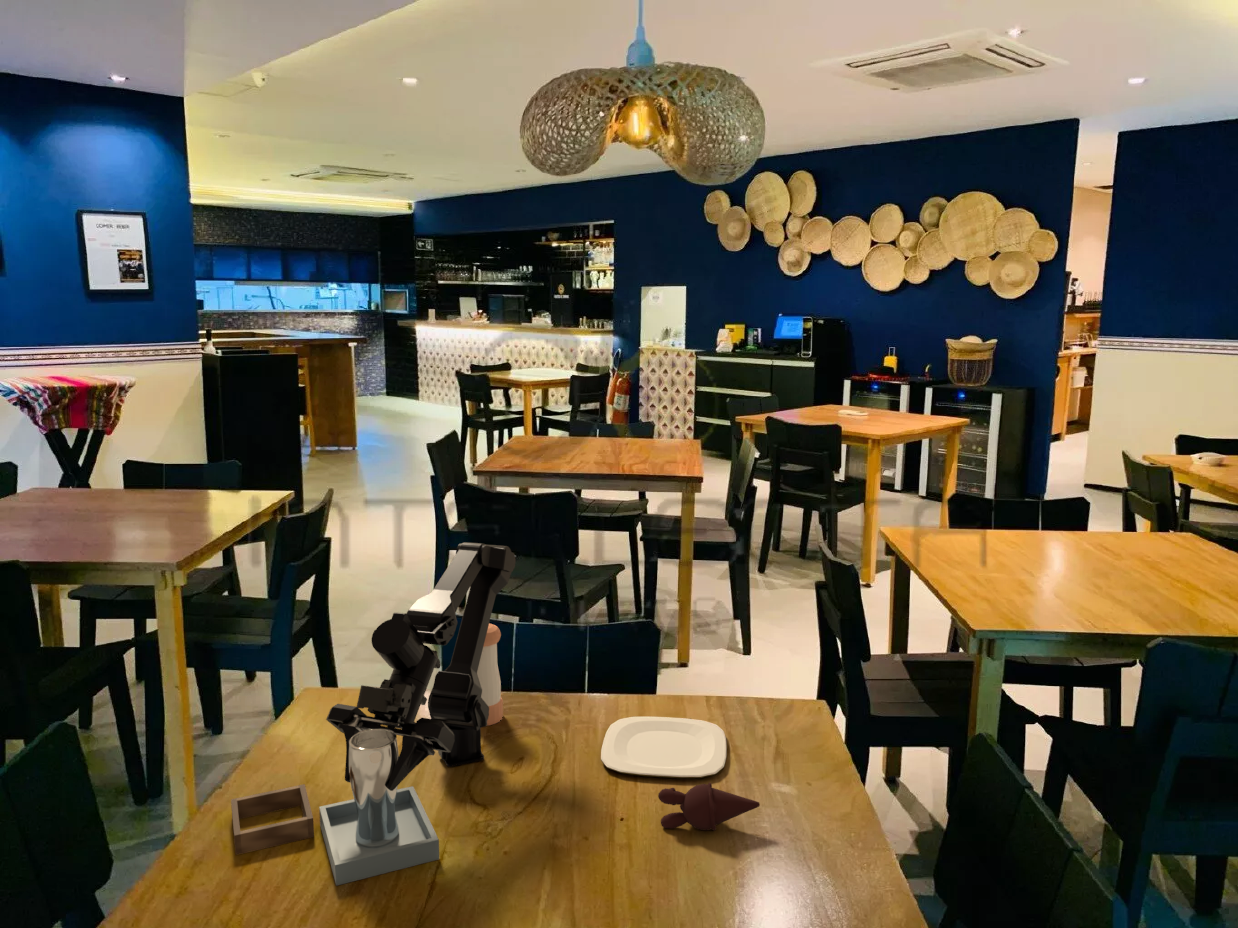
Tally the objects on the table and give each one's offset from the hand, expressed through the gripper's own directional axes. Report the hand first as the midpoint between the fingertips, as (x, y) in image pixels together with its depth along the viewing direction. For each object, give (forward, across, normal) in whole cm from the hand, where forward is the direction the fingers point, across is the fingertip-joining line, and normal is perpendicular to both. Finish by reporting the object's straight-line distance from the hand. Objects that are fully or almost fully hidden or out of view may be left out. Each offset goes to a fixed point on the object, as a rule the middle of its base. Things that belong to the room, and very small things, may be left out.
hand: (368, 785), depth 127 cm
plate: (-23, +32, +37) cm, 54 cm away
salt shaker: (-24, -4, +37) cm, 45 cm away
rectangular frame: (+7, -17, +7) cm, 19 cm away
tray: (+6, 0, +8) cm, 10 cm away
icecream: (-8, +45, +22) cm, 50 cm away
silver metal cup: (+5, 0, +7) cm, 9 cm away
